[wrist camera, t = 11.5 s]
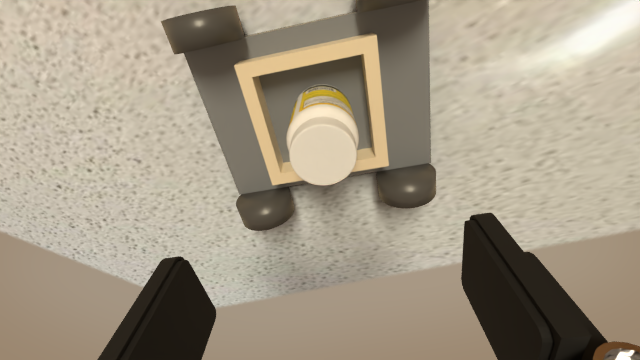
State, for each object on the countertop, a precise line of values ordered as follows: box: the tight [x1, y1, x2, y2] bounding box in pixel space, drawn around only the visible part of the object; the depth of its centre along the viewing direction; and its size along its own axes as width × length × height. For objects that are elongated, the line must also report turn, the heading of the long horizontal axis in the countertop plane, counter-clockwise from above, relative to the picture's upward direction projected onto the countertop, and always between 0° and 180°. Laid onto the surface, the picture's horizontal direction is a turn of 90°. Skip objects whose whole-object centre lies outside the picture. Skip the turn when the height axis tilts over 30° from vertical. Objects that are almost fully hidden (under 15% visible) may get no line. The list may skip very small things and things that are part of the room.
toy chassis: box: [161, 0, 436, 231], centre depth 24 cm, size 18×17×5 cm
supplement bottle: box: [286, 84, 359, 186], centre depth 21 cm, size 5×5×8 cm
